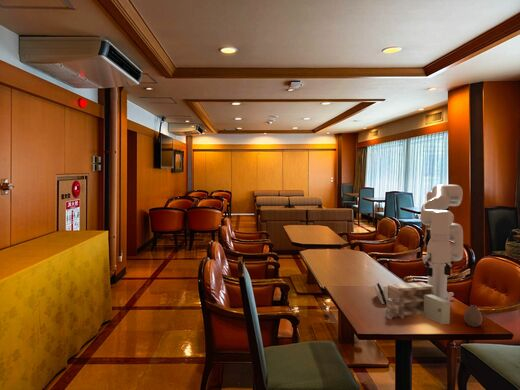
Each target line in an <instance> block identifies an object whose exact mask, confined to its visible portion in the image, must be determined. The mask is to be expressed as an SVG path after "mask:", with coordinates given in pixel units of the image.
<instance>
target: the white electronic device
mask: <svg viewBox="0 0 520 390" xmlns="http://www.w3.org/2000/svg"><path fill="white" fill-rule="evenodd" d="M373 287H374V290H375V293H376V296H377V298H378V299H379V302H380V301H381V302H380V304H381V303H382V304H384V305H386V299H387V297H388V294H387V293H386V290H385V288H384V286H383V284H382V282H377V283H374V284H373ZM382 304H381V305H382Z"/></svg>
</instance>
